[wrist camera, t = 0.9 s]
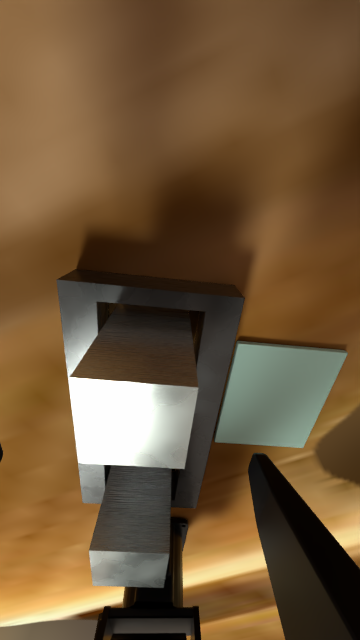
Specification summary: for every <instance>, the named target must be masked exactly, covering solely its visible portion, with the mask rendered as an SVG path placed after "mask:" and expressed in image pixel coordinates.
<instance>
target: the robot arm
mask: <svg viewBox="0 0 360 640" xmlns="http://www.w3.org/2000/svg"><path fill="white" fill-rule="evenodd" d="M2 456H3V450H2V447H1V444H0V462H1V459H2ZM248 474H249V481H250V487H251V493H252V500H253V506H254V512H255V518H256V524H257V528H258V533H259V537H260V541H261V544H262V548H263V552H264V556H265V560H266V564H267V568H268V572H269V576H270V580H271V584H272V588H273V592H274V596H275V600H276V604H277V608H278V612H279V616H280V620H281V624H282V628H283V632H284V636H285V640H360V568H359V567H358V566H357V565H356V563H355V562H354V561H353V560H352V559H351V557H350V556H349V555H348V554H347V553H346V551H345V550H344V549H343V548H342V546H341V545H340V544H339V543H338V542H337V540H336V539H335V538H334V537H333V535H332V534H331V533H330V532H329V531H328V529H327V528H326V527H325V526H324V524H323V523H322V522H321V521H320V520H319V518H318V517H317V516H316V515H315V514H314V512H313V511H312V510H311V509H310V507H309V506H308V505H307V504H306V503H305V501H304V500H303V499H302V498H301V496H300V495H299V494H298V493H297V492H296V490H295V489H294V488H293V487H292V486H291V484H290V483H289V482H288V481H287V479H286V478H285V477H284V476H283V475H282V473H281V472H280V471H279V470H278V468H277V467H276V466H275V465H274V464H273V462H272V461H271V460H270V459H269V457H268V456H267V455H266V454H264V453H254V454H253V456H252V458H251V461H250V464H249V468H248ZM187 529H188V520H186V519H171V518H170V551H169V559H168V565H167V570H166V576H165V582H164V588H154V587H125V591H124V598H123V605H122V608H111V606H105V607H104V610H103V613H101V614H99V618H98V623H97V628H96V633H95V638H94V640H186V636H189V635H191V640H201V632H200V619H199V606H193V607H183V572H182V551H183V548H184V543H185V539H186V534H187Z"/></svg>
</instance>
